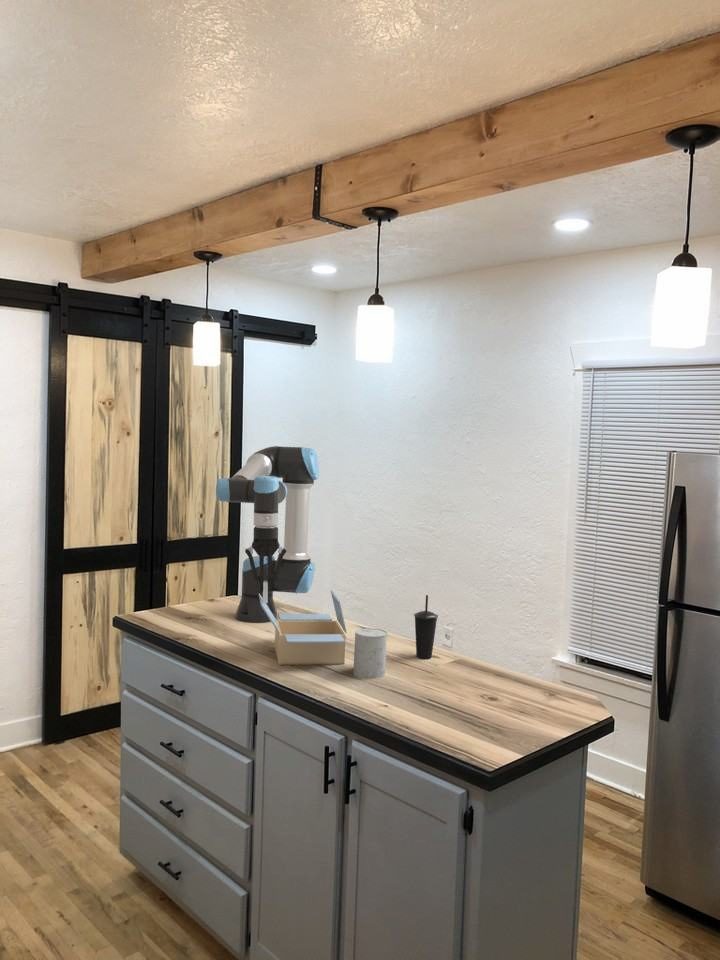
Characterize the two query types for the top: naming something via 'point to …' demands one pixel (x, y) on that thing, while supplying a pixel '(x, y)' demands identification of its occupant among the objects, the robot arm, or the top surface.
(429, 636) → the drinking cup
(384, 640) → the speckled concrete cylinder
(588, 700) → the top surface
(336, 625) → the carton
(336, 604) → the flap
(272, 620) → the flap
